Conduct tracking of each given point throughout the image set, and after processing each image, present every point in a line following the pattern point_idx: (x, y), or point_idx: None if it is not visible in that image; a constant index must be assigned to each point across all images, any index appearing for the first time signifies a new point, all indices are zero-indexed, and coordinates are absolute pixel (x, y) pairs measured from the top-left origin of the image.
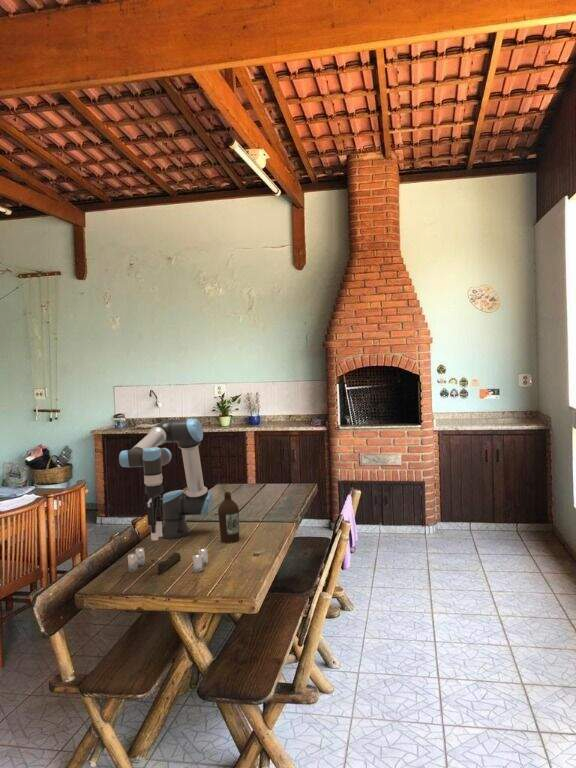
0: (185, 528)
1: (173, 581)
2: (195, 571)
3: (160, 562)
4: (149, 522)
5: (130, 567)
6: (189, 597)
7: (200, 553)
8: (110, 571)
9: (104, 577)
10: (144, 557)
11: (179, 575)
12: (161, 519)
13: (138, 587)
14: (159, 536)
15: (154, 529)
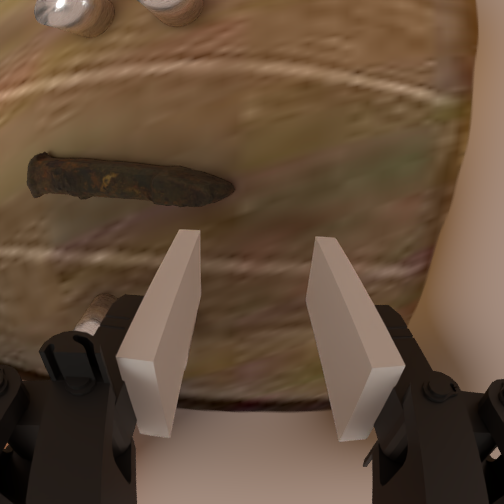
0: None
1: (323, 84)
2: (201, 8)
3: (175, 202)
4: (484, 458)
5: (193, 331)
6: (475, 11)
7: (84, 4)
8: (194, 381)
9: (252, 380)
10: (95, 310)
11: (240, 75)
12: (90, 385)
13: (377, 229)
14: (198, 258)
15: (404, 338)
